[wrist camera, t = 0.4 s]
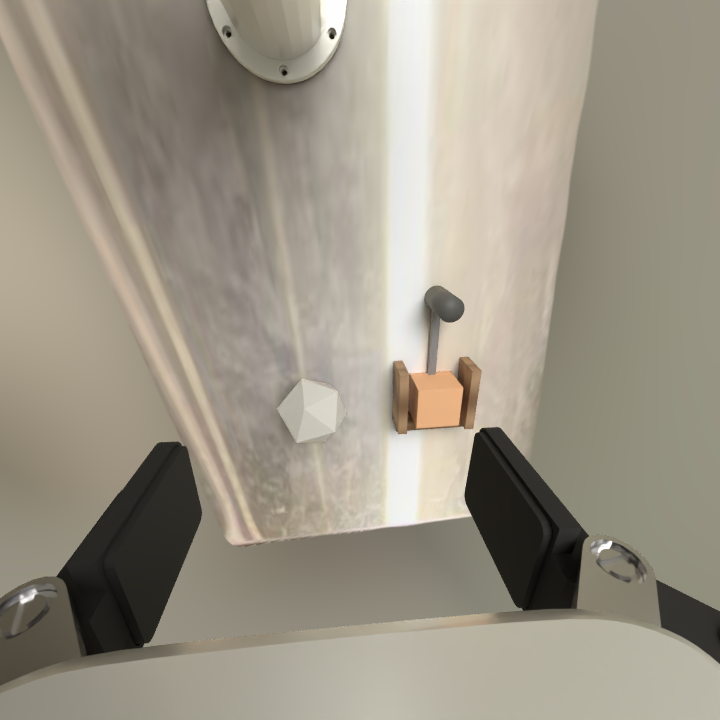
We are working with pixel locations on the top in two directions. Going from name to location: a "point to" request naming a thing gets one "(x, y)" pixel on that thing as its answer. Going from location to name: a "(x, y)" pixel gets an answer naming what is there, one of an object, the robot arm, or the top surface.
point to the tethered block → (435, 389)
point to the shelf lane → (470, 383)
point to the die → (312, 411)
